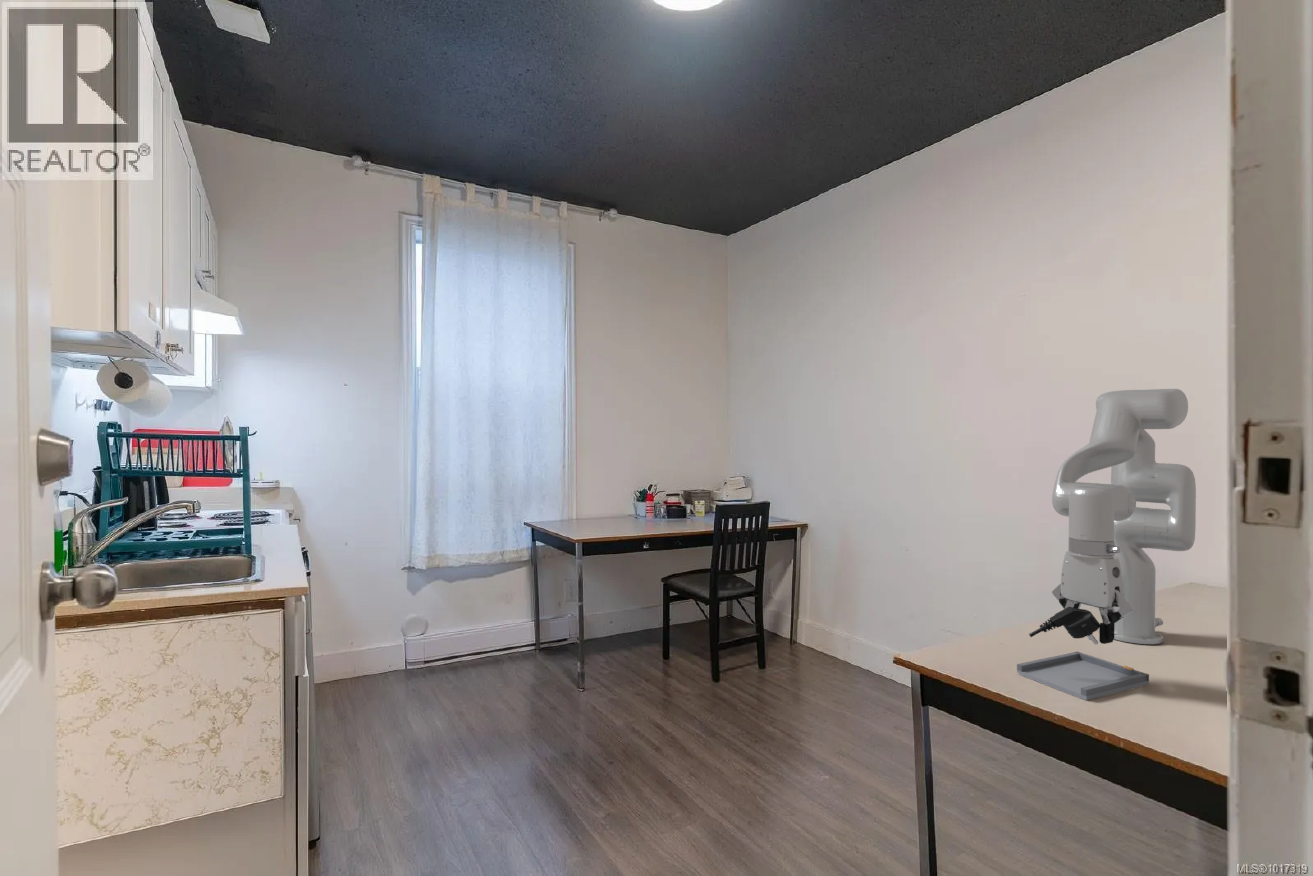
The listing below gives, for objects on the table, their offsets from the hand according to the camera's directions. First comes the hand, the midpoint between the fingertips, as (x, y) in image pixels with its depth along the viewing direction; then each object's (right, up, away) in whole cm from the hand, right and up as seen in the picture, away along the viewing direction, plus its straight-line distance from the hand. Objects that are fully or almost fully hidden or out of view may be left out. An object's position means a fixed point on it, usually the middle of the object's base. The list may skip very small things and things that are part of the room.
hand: (1090, 637), depth 126 cm
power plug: (-5, -1, 0) cm, 5 cm away
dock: (-1, -9, +1) cm, 9 cm away
